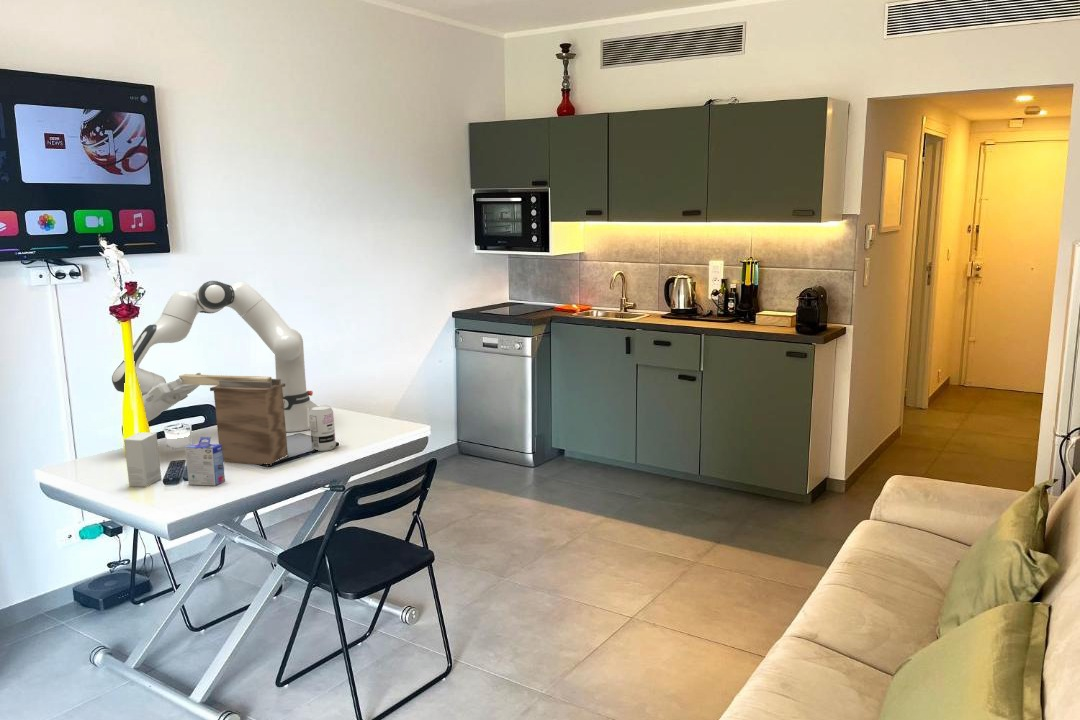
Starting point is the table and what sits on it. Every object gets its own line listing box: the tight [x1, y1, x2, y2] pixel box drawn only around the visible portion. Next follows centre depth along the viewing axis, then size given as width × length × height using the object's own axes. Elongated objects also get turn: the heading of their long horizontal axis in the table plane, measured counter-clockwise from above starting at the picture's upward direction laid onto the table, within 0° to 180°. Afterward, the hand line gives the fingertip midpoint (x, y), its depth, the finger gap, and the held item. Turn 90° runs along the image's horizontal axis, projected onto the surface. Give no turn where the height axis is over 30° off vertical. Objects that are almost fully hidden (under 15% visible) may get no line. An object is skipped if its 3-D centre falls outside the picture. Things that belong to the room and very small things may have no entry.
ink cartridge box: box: [185, 436, 226, 486], centre depth 263 cm, size 10×6×14 cm, turn 78°
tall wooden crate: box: [209, 378, 289, 466], centre depth 287 cm, size 11×22×28 cm, turn 73°
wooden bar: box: [178, 373, 273, 387], centre depth 287 cm, size 3×35×3 cm, turn 73°
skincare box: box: [123, 431, 162, 488], centre depth 265 cm, size 8×7×16 cm
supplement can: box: [309, 405, 337, 452], centre depth 299 cm, size 8×8×15 cm
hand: (191, 377), depth 291 cm, fingers open, 8 cm apart
